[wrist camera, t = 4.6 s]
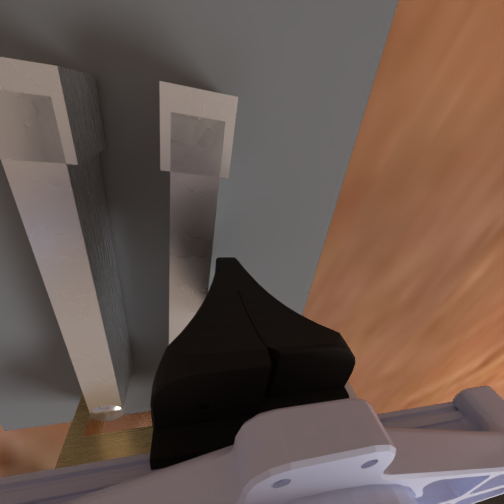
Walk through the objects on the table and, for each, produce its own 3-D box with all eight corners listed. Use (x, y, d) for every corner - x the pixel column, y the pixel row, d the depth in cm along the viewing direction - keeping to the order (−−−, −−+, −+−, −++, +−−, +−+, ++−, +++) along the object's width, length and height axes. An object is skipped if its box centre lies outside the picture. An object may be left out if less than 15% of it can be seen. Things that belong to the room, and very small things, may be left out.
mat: (10, 421, 18) (5, 430, 17) (-438, -258, 5) (-508, -299, 5) (276, 386, 23) (278, 393, 22) (391, -7, 10) (402, -13, 9)
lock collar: (96, 404, 18) (66, 500, 13) (88, 377, 16) (51, 476, 12) (215, 389, 20) (222, 468, 15) (218, 364, 18) (226, 445, 14)
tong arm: (167, 367, 17) (163, 413, 15) (167, 85, 9) (159, 80, 7) (199, 365, 18) (200, 408, 15) (226, 97, 10) (238, 96, 7)
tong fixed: (103, 374, 16) (87, 424, 14) (20, 63, 8) (-54, 48, 6) (139, 370, 17) (130, 418, 14) (95, 75, 9) (56, 65, 6)
